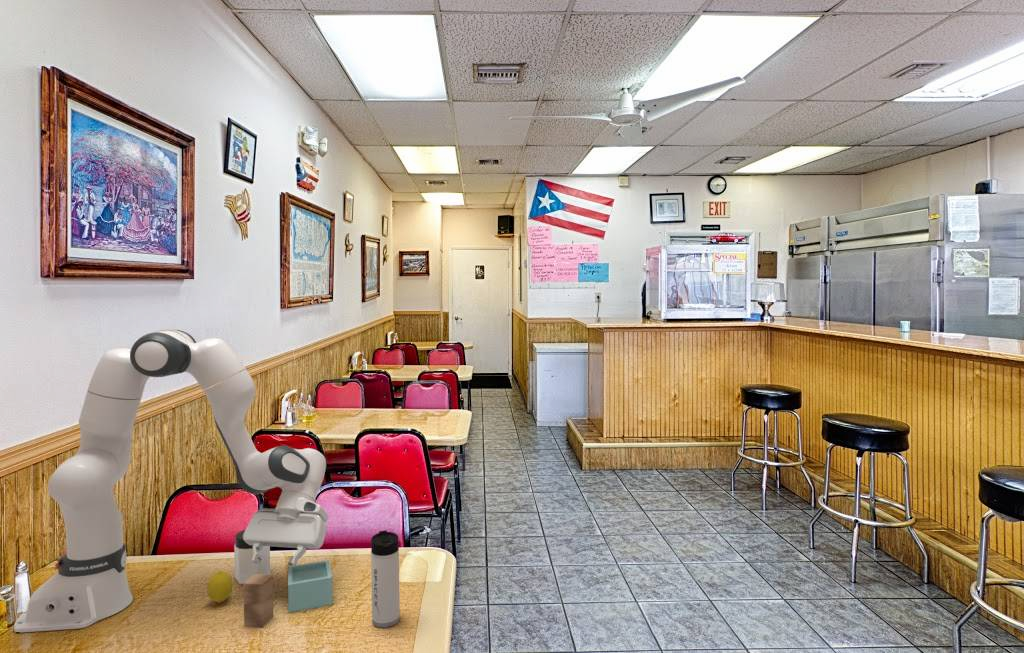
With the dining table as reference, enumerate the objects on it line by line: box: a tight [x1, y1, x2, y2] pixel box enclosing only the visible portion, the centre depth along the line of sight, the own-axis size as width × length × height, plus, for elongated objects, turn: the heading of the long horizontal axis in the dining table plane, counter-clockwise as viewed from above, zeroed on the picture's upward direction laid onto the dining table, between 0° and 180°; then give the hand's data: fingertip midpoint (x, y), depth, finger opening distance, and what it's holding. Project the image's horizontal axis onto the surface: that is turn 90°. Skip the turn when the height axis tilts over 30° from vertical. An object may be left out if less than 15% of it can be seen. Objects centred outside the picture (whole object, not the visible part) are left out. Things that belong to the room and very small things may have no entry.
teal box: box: [287, 559, 334, 614], centre depth 142 cm, size 10×10×7 cm
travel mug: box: [370, 530, 401, 629], centre depth 132 cm, size 6×7×20 cm
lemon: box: [206, 570, 233, 604], centre depth 140 cm, size 6×6×8 cm
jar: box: [233, 529, 271, 585], centre depth 153 cm, size 9×8×12 cm
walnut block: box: [242, 574, 275, 629], centre depth 132 cm, size 4×4×10 cm
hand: (273, 564), depth 138 cm, fingers open, 8 cm apart
